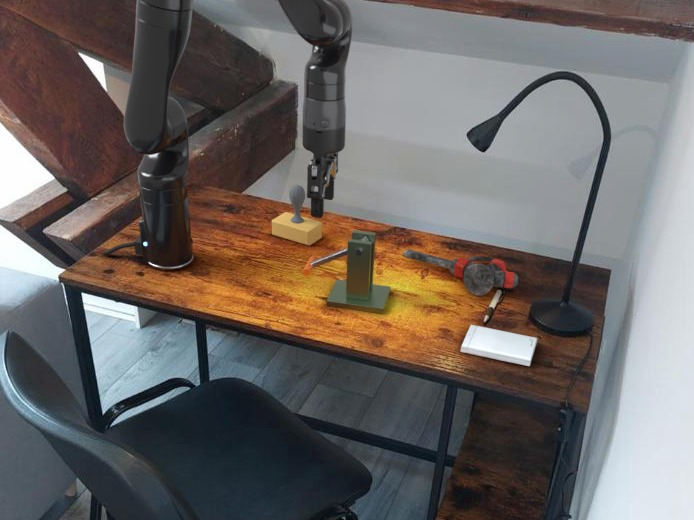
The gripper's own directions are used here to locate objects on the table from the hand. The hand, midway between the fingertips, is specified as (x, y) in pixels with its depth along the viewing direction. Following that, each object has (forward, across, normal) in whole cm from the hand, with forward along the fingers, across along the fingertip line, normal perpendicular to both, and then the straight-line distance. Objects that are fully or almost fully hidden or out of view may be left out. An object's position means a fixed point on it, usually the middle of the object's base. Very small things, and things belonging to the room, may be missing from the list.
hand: (322, 207), depth 150 cm
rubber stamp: (+18, -23, -11) cm, 31 cm away
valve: (+18, -16, +27) cm, 36 cm away
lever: (+10, +1, +4) cm, 11 cm away
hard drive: (+18, +12, +36) cm, 42 cm away
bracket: (+18, +1, +8) cm, 19 cm away
